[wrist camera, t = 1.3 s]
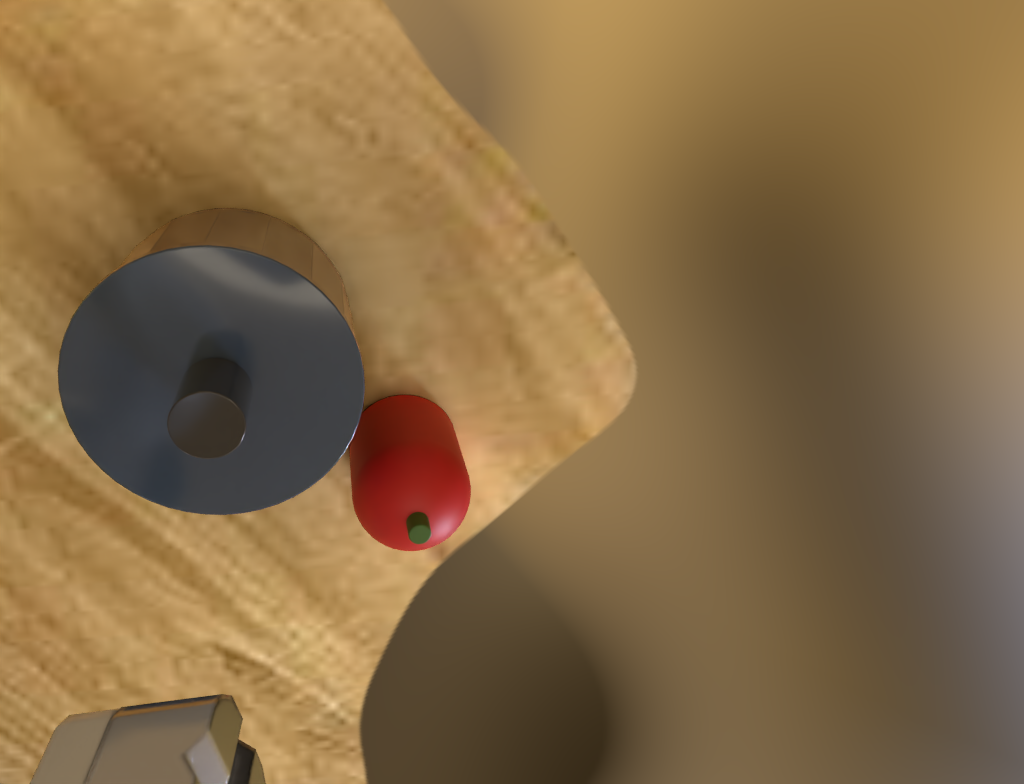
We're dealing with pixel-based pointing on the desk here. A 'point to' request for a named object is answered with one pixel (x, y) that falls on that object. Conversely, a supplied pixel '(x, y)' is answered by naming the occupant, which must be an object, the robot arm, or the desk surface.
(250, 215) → the pot
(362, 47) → the desk surface
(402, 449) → the pepper
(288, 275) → the pot lid
